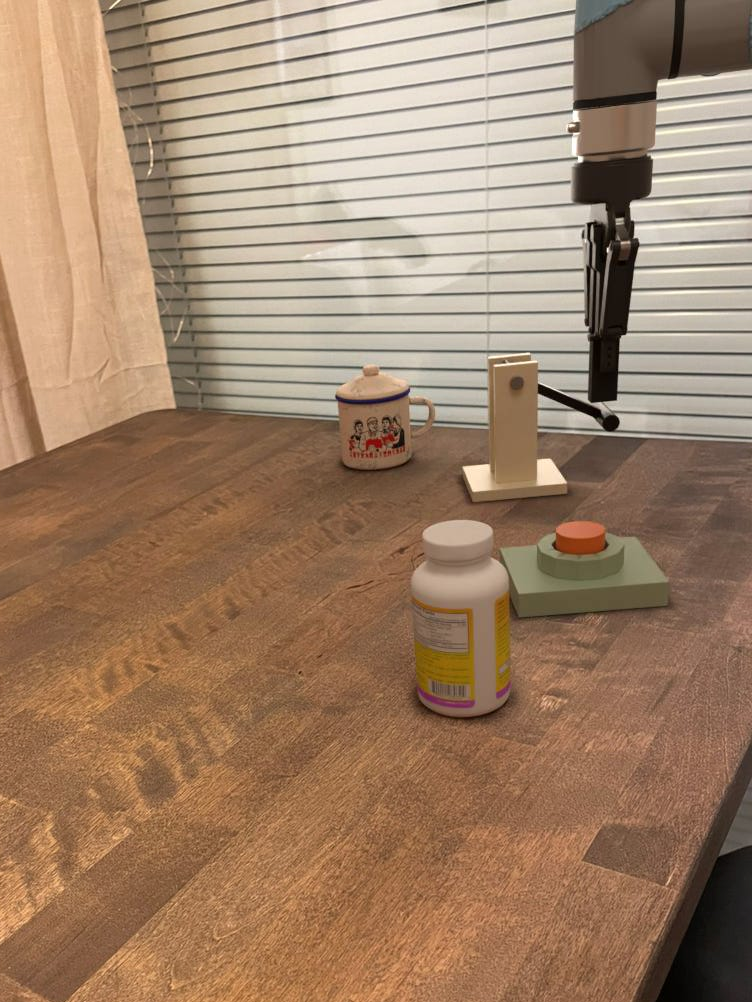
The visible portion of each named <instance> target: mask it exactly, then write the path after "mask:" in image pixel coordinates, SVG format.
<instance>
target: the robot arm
mask: <svg viewBox="0 0 752 1002" xmlns="http://www.w3.org/2000/svg"><path fill="white" fill-rule="evenodd" d="M574 11H575V13H574V24H573V25H574V28H573V61H572V63H573V64H572V65H573V68H572V69H573V71H572V73H573V75H572V78H573V79H572V101H573V102H572V110H573V111H572V120H573V121H571V122H568V123H567V125H566V126H565V127H566V133H567V134H572V138H571V139H572V142H571V155H573V156H574V157H577V158H578V159H577V160H578V161H577V162H573V165H572V166H571V167H570V194H569V195H570V196H569V197H570V198H569V199H570V201H571V202H572V203H573V204H575V205H582V206H590V209H589V216H588V217H589V218H588V221H587V222H585V223H584V228H583V229H581V233H580V239H581V243H582V252H583V253H582V254H583V257H582V259H583V294H584V295H583V298H584V301H583V303H584V320H583V323H584V326H585V327H586V328H587V327H588V329H587V332H588V334H587V336H586V338H587V341H588V342H589V347H588V356H589V357H588V376H587V377H588V382H587V401H588V403H589V404H592V403H598V402H603V403H607V402H608V403H609V402H616V401H618V387H619V386H618V385H619V366H620V365H619V364H620V345H621V339H622V337H623V336H627V333H628V330H629V328H628V326H629V318H630V317H629V316H630V308H631V300H632V291H633V283H634V275H635V266H636V261H637V256H638V252H639V247H640V240H639V238H638V237H635V228H636V227H635V225H636V224H635V220H634V219H633V220H632V216H631V214H632V213H631V203H632V202H633V201H638V200H639V201H640V200H643V199H646V198H647V197H649V196H650V195H651V193H652V190H653V189H652V188H653V187H652V186H653V170H654V169H653V168H654V158H652V155H651V154H648V150H650V149H652V148H654V146H655V145H656V132H657V131H656V129H657V109H658V108H657V107H658V101H657V96H658V92H657V88H658V83H659V81H661V80H675V79H678V78H688V77H698V76H701V77H706V78H707V77H716V76H718V75H720V74H726V73H734V72H743V71H749V70H752V0H575V10H574Z"/></svg>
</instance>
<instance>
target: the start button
mask: <svg viewBox="0 0 752 1002" xmlns="http://www.w3.org/2000/svg"><path fill="white" fill-rule="evenodd" d="M606 532H607V529H606V527H605V526H604V525H602V524H601V523H597V522H594V521H587V520H575V521H569V522H564V523H562V524H560V525H558V526H557V527H556V529H555V533H556V550H557V551H559V552H562V553H564V554H573V555H587V554H596V553H599V552H601V551H604V550H605V533H606Z"/></svg>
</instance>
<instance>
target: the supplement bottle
mask: <svg viewBox="0 0 752 1002" xmlns="http://www.w3.org/2000/svg"><path fill="white" fill-rule="evenodd" d="M421 535H422V536H421V537H422V539H421V540H422V548H421V549H422V553H423V554H424V556H425V558H426V560H425V561H423V562H422V563H420V564H419V565H418V566H417V568H416V569H414V572H413V573H412V576H411V579H410V596H411V597H410V598H411V611H412V626H413V627H412V628H413V629H412V630H413V644H414V645H413V646H414V660H415V675H416V677H415V678H416V689H417V695H418V698H419V700H420V702H421V703H422V704H423V705H424V706H425V707H427V708H428V709H430V710H431V711H433V712H435V713H437V714H440V715H443V716H447V717H455V718H470V717H471V718H472V717H478V716H482V715H486V714H489V713H492V712H494V711H495V710H498V709H499V708H501V707H502V706H503V705H504V704H505V703H506V702H507V701H508V699H509V696H510V694H511V633H510V631H511V627H510V620H511V619H510V594H509V577H508V573H507V571H506V569H505V567H504V566H503V565H502V564H501V563H500V561H498V560H496V559H495V558H493V557H492V556H491V554H492V552H493V549H494V546H495V540H494V530H493V528H492V527H491V525H489V524H487V523H484V522H482V521H478V520H470V519H454V520H453V519H452V520H446V521H440V522H438V523H434V524H432V525H430V526H428V527H426V528H425V529H424V530H423V532H422V534H421Z"/></svg>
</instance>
